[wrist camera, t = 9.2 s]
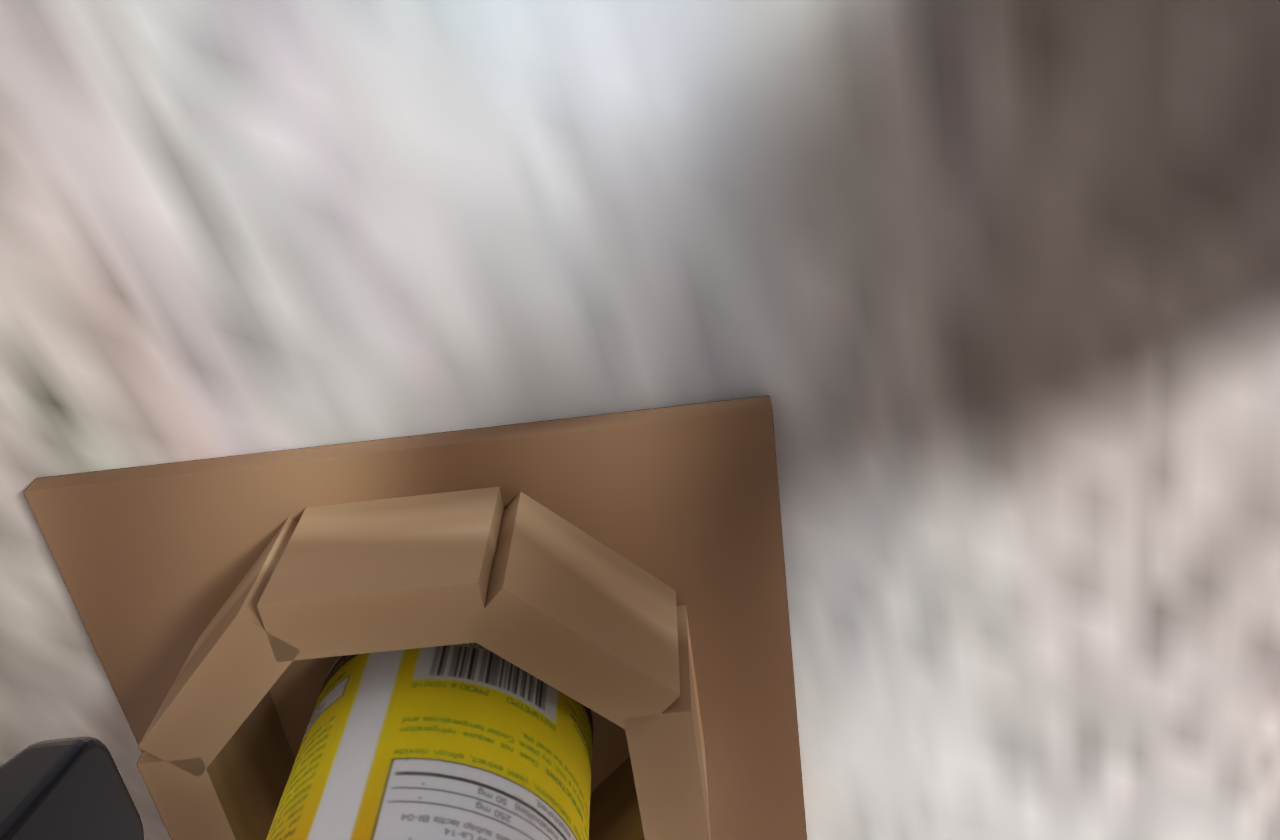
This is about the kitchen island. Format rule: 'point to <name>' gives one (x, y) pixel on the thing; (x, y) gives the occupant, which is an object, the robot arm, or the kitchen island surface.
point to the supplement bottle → (439, 753)
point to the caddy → (455, 604)
